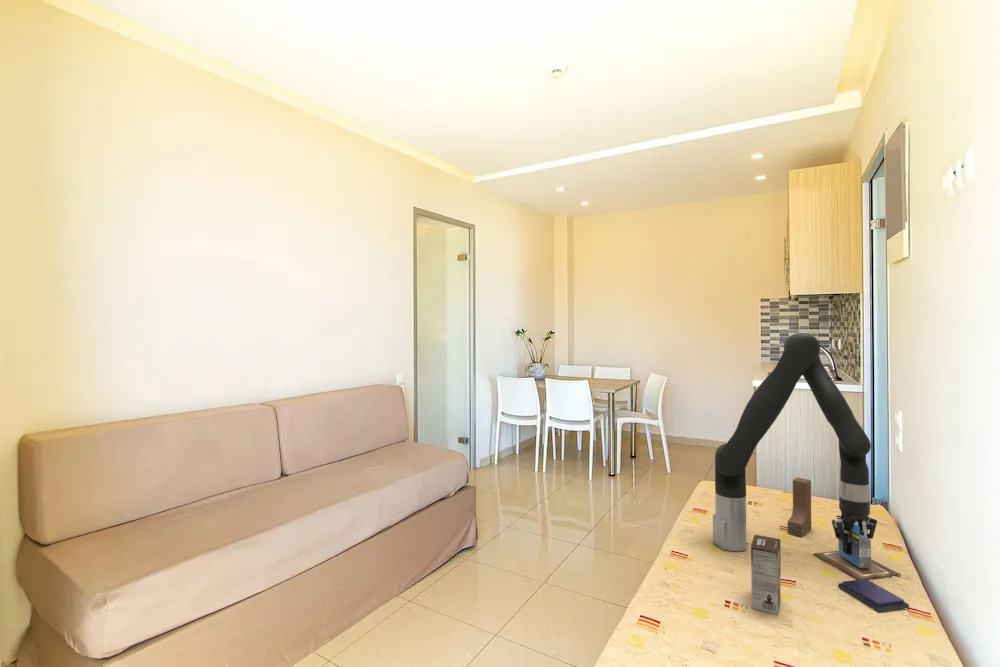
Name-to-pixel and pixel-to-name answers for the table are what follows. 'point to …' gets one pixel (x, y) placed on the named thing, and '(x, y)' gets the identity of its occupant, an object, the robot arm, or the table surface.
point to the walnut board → (854, 571)
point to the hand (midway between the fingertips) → (854, 552)
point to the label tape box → (858, 549)
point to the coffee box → (766, 574)
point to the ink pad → (873, 595)
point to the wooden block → (800, 508)
